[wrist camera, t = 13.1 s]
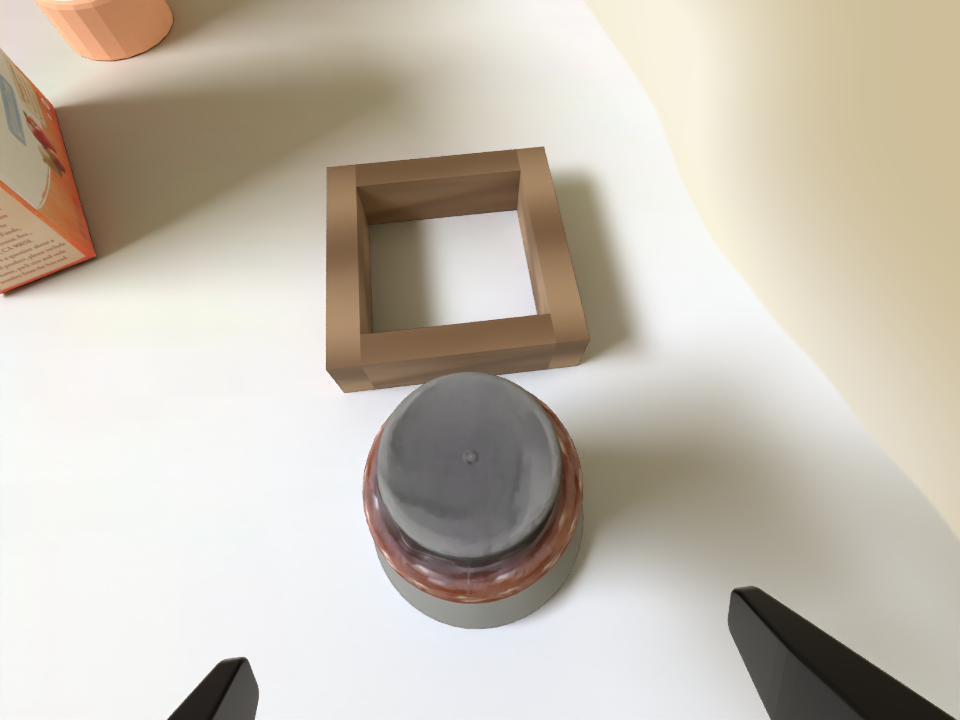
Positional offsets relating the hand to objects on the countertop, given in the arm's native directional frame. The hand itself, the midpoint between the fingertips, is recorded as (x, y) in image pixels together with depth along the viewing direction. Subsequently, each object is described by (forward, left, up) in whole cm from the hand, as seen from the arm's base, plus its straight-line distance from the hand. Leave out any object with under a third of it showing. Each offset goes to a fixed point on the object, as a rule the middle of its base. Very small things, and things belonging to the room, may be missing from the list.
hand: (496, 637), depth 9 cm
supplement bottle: (+2, +2, -11) cm, 12 cm away
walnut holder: (+12, +10, -12) cm, 20 cm away
